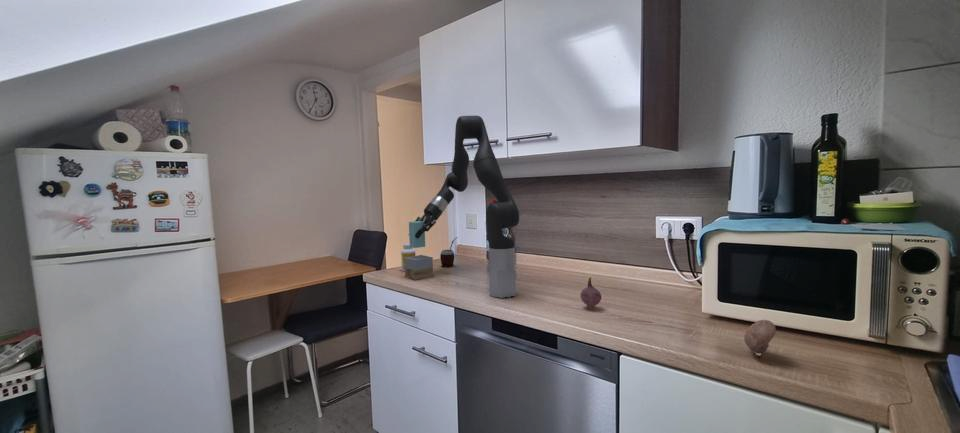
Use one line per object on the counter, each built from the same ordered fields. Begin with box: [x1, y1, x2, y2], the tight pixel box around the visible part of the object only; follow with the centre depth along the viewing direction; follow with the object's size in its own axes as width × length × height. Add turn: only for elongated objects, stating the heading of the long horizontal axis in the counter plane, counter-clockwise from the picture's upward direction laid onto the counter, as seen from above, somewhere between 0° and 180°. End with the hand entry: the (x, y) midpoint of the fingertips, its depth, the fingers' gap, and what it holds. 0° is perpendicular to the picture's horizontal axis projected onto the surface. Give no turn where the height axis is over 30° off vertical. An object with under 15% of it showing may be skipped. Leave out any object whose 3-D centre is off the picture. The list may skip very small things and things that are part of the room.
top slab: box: [404, 254, 434, 271], centre depth 160 cm, size 9×9×4 cm
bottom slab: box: [404, 267, 434, 282], centre depth 160 cm, size 9×9×4 cm
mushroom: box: [743, 319, 777, 354], centre depth 80 cm, size 8×6×8 cm
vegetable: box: [580, 277, 602, 308], centre depth 114 cm, size 6×6×10 cm
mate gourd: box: [439, 236, 459, 268], centre depth 181 cm, size 8×8×15 cm
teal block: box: [408, 220, 426, 249], centre depth 159 cm, size 5×5×11 cm
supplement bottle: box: [400, 242, 416, 273], centre depth 174 cm, size 7×7×13 cm
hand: (413, 236), depth 158 cm, fingers closed on teal block, 5 cm apart
